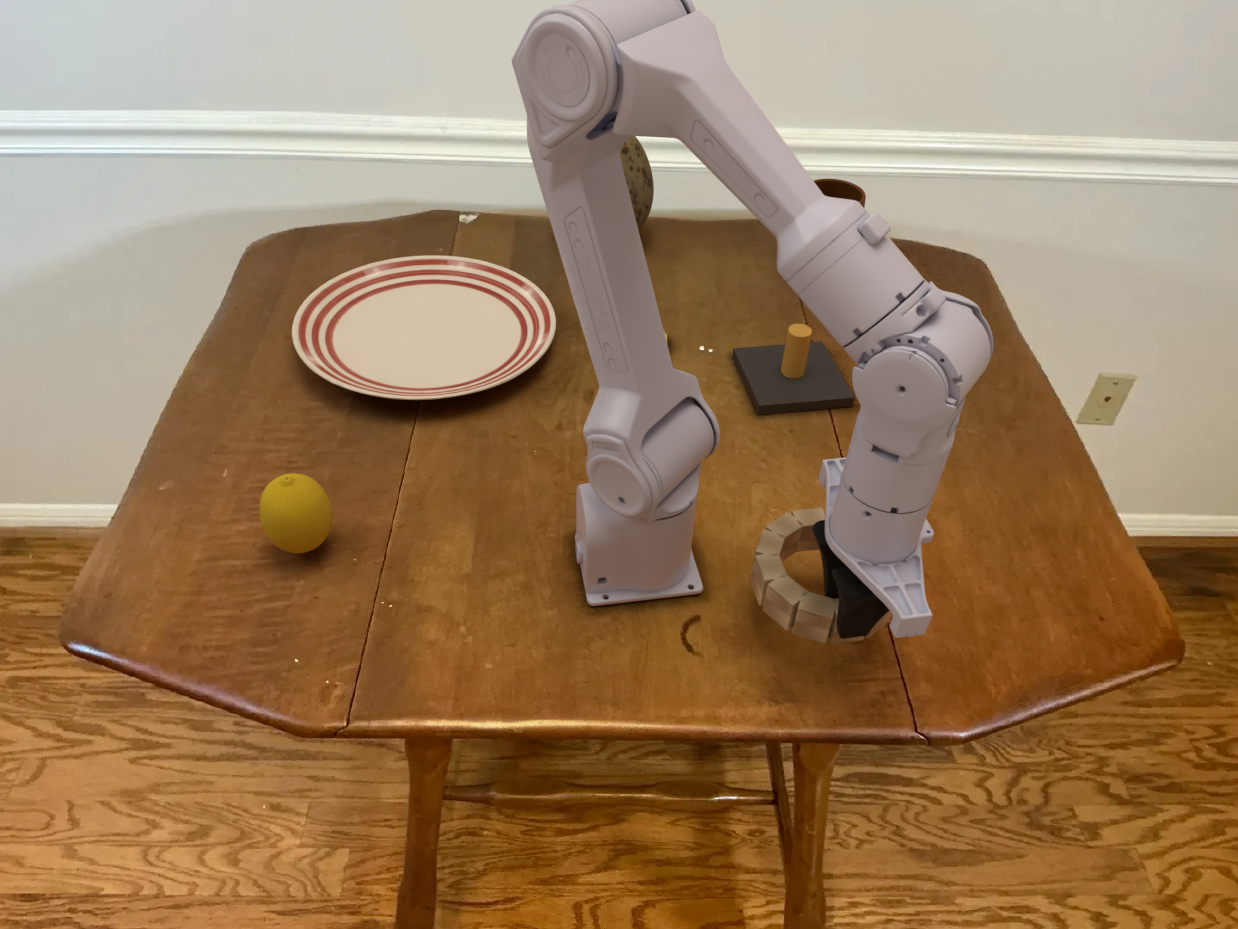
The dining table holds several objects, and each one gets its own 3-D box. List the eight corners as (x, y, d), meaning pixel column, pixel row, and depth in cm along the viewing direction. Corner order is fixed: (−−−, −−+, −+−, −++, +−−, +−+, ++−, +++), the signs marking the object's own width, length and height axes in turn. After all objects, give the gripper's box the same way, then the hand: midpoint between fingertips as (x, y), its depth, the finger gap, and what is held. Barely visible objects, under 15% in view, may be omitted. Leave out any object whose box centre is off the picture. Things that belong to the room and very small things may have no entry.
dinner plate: (522, 262, 115) (521, 238, 113) (587, 395, 96) (588, 368, 94) (288, 295, 108) (282, 269, 106) (309, 445, 89) (302, 417, 87)
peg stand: (758, 415, 95) (766, 362, 90) (732, 357, 102) (738, 306, 98) (852, 406, 96) (865, 354, 92) (820, 350, 103) (830, 299, 99)
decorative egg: (657, 259, 117) (664, 141, 107) (570, 263, 116) (569, 143, 106) (643, 218, 125) (649, 104, 115) (562, 221, 124) (561, 106, 114)
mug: (865, 298, 112) (882, 225, 105) (801, 297, 111) (815, 224, 105) (845, 247, 121) (859, 177, 114) (785, 246, 120) (797, 176, 114)
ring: (775, 651, 68) (781, 625, 66) (736, 541, 75) (740, 515, 73) (917, 633, 69) (927, 607, 67) (864, 527, 77) (872, 501, 75)
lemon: (305, 582, 77) (284, 512, 71) (257, 554, 79) (234, 484, 73) (353, 541, 80) (337, 471, 75) (306, 515, 82) (287, 446, 77)
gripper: (1001, 560, 54) (940, 697, 63) (903, 404, 65) (862, 541, 74) (886, 573, 53) (840, 711, 62) (804, 413, 64) (776, 550, 73)
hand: (846, 619), depth 68 cm, fingers closed on ring, 2 cm apart
